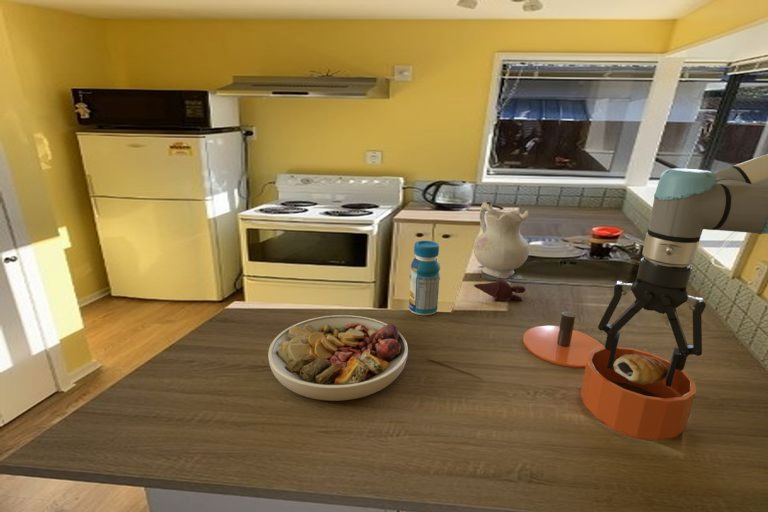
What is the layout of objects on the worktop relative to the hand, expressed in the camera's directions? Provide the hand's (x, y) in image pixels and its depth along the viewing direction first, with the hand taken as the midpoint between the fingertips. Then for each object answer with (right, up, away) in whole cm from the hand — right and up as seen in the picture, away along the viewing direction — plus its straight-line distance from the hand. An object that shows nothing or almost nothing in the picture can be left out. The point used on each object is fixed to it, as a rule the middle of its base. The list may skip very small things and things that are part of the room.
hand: (638, 373), depth 80 cm
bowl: (-58, -2, +14) cm, 60 cm away
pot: (0, -7, +2) cm, 8 cm away
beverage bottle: (-37, +6, +42) cm, 56 cm away
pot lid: (-4, 0, +23) cm, 24 cm away
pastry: (0, 0, 0) cm, 0 cm away
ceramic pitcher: (-7, +17, +75) cm, 77 cm away
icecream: (-13, +8, +50) cm, 52 cm away
